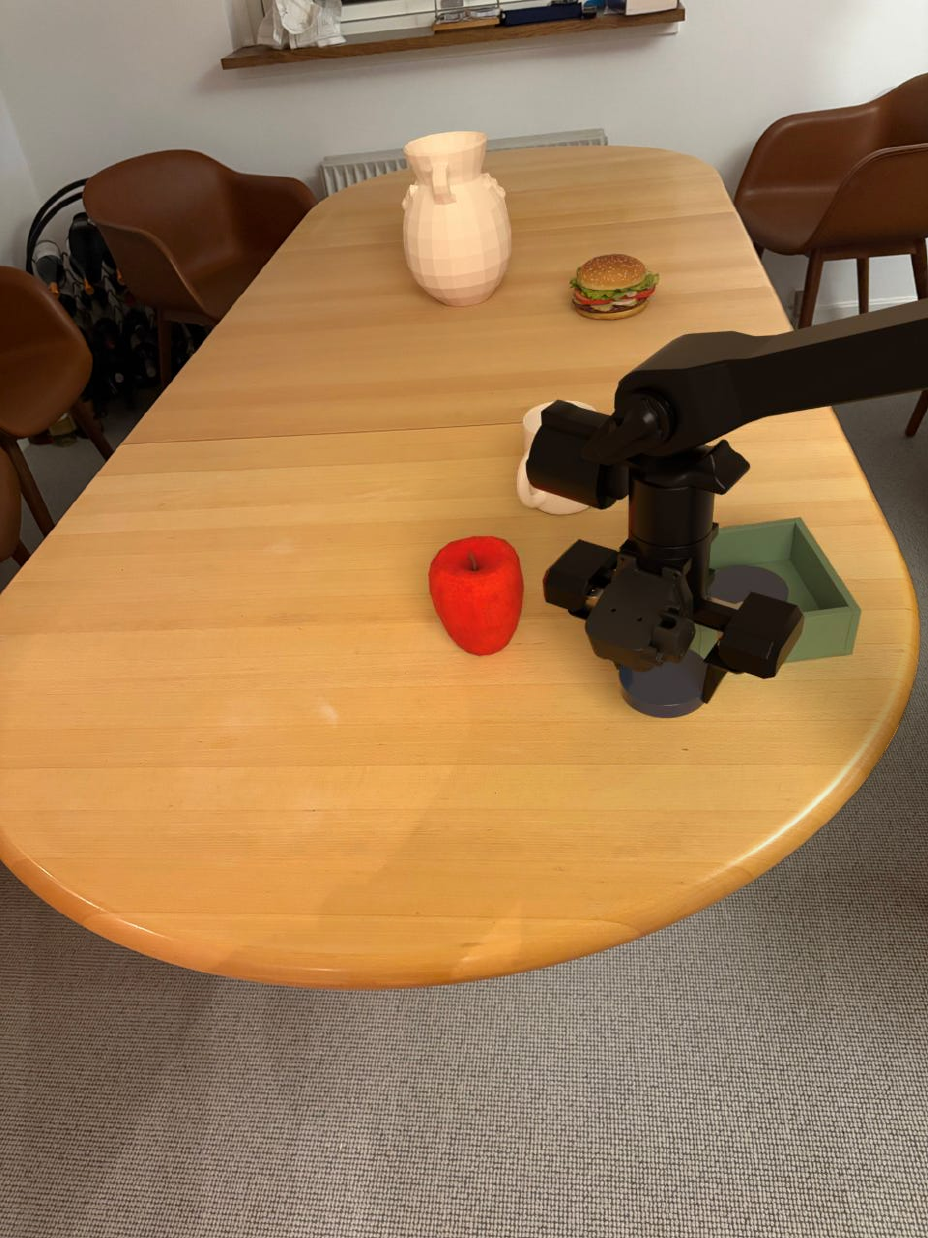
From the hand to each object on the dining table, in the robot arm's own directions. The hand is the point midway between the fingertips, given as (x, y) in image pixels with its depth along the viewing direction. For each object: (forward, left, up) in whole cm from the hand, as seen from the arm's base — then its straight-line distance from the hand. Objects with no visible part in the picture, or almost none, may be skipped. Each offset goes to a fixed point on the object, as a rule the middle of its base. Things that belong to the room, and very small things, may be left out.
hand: (663, 683), depth 71 cm
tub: (-11, -13, -5) cm, 18 cm away
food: (-14, -92, -5) cm, 93 cm away
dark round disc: (-11, -13, -5) cm, 18 cm away
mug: (+4, -36, -5) cm, 37 cm away
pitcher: (+10, -106, -5) cm, 107 cm away
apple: (+14, -14, -5) cm, 20 cm away
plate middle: (0, 0, -1) cm, 1 cm away
